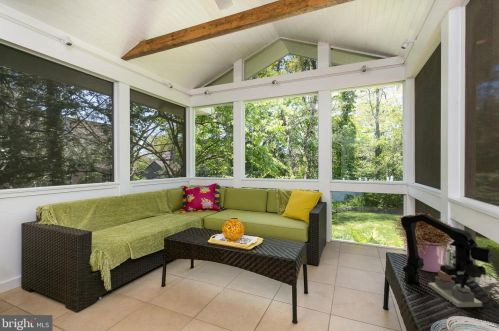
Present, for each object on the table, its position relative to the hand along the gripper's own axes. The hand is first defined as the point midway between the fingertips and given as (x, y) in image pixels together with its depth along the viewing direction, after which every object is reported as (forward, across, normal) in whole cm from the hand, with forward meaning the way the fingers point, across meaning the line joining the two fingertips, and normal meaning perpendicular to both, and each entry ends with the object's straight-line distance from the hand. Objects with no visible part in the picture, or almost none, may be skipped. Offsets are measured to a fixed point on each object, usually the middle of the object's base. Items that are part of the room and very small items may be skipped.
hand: (462, 286), depth 119 cm
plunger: (+5, 0, 0) cm, 5 cm away
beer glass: (+8, +18, +26) cm, 33 cm away
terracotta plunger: (+3, 0, +11) cm, 11 cm away
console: (+8, 0, +6) cm, 10 cm away
